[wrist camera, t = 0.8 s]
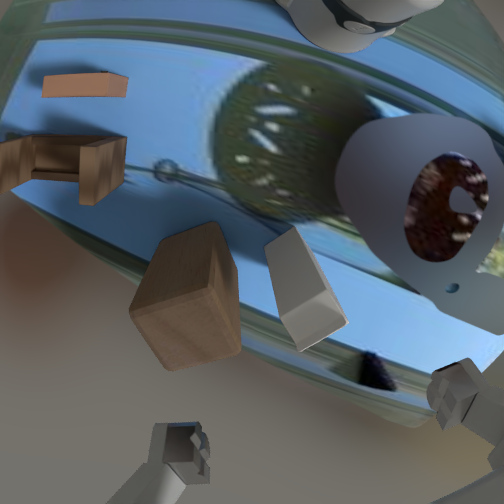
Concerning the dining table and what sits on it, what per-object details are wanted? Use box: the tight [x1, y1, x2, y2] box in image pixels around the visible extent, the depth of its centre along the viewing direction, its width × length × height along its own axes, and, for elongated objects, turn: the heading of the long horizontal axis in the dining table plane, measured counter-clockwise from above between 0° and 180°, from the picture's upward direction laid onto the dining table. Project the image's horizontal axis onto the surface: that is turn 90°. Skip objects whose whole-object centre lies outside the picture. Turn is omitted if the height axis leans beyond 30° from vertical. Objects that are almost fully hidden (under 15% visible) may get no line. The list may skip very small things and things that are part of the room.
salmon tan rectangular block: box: [42, 71, 128, 98], centre depth 35 cm, size 4×10×8 cm, turn 80°
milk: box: [264, 226, 349, 352], centre depth 42 cm, size 6×6×22 cm
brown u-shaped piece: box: [0, 134, 127, 206], centre depth 38 cm, size 7×18×12 cm, turn 80°
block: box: [129, 222, 241, 371], centre depth 42 cm, size 10×10×20 cm
